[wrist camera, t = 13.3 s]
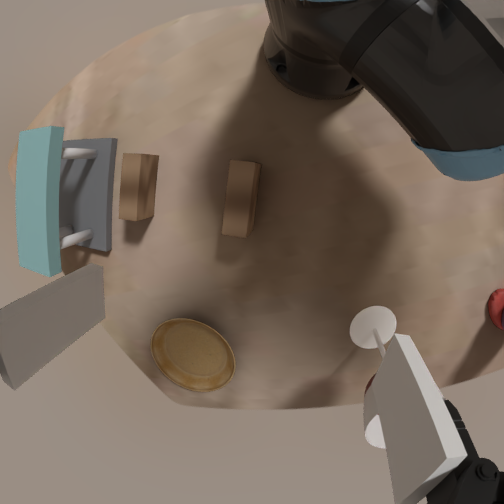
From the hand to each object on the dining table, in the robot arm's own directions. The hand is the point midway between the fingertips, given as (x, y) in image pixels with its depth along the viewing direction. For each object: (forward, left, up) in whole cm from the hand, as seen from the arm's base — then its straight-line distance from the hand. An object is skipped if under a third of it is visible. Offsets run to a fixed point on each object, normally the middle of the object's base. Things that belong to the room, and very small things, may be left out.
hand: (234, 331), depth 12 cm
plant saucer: (+23, -11, -29) cm, 38 cm away
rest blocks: (-3, -13, -28) cm, 31 cm away
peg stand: (-1, -33, -28) cm, 43 cm away
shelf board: (-1, -33, -18) cm, 37 cm away
